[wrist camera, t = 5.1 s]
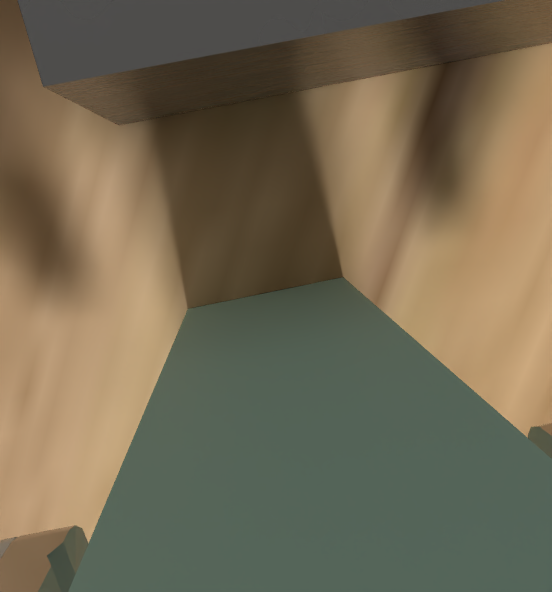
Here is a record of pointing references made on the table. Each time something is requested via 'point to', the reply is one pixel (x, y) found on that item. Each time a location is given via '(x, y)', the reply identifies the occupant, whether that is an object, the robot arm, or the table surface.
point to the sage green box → (319, 464)
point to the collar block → (255, 46)
